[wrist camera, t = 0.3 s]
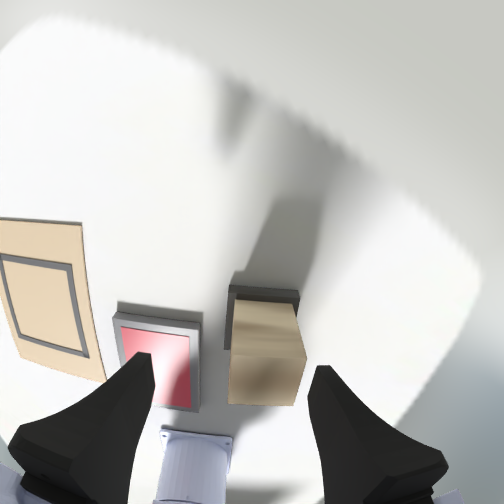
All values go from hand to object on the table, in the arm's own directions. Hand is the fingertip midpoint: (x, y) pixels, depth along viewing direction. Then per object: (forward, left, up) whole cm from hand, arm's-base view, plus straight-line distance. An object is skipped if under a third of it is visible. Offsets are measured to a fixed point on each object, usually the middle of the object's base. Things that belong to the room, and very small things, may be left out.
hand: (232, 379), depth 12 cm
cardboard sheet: (-5, +18, -10) cm, 21 cm away
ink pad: (-9, +6, -10) cm, 15 cm away
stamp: (-3, -2, -10) cm, 10 cm away
